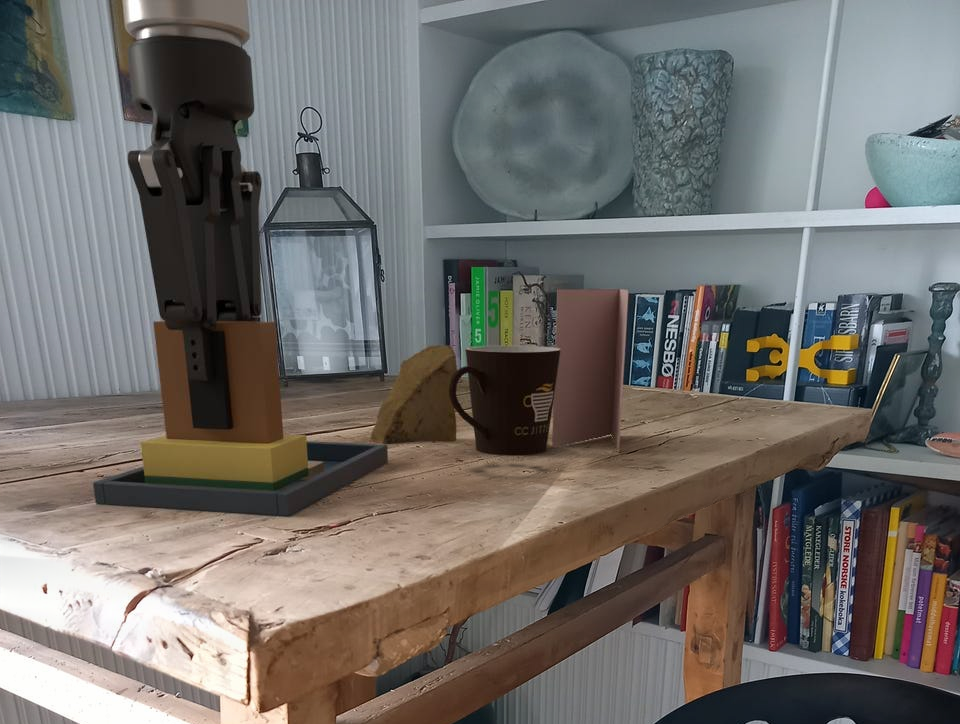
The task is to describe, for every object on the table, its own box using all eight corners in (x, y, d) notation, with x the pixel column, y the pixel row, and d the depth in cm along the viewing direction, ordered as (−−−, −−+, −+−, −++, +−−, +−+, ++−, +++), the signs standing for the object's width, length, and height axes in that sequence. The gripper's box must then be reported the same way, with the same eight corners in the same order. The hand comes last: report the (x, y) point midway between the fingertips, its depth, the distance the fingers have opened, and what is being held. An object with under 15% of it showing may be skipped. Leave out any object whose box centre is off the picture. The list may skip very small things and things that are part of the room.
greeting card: (604, 434, 103) (612, 289, 97) (664, 441, 98) (676, 289, 93) (544, 447, 94) (549, 289, 89) (607, 456, 90) (617, 290, 85)
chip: (274, 479, 74) (273, 466, 73) (290, 471, 76) (289, 459, 76) (310, 480, 73) (309, 468, 73) (324, 473, 76) (324, 461, 75)
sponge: (309, 475, 70) (299, 320, 66) (274, 491, 65) (261, 324, 61) (188, 469, 72) (172, 319, 68) (145, 484, 67) (125, 322, 63)
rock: (375, 433, 87) (476, 415, 89) (352, 354, 89) (452, 337, 91) (369, 484, 97) (460, 466, 99) (348, 411, 99) (438, 396, 101)
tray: (97, 517, 65) (92, 482, 65) (234, 465, 84) (232, 437, 83) (290, 531, 62) (287, 494, 61) (388, 473, 81) (387, 444, 80)
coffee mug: (534, 449, 93) (536, 344, 89) (572, 464, 86) (577, 351, 82) (423, 456, 89) (421, 347, 86) (453, 472, 82) (452, 353, 78)
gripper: (197, 72, 66) (228, 409, 75) (56, 15, 52) (113, 439, 61) (295, 67, 65) (315, 413, 73) (177, 8, 51) (218, 444, 59)
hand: (224, 424), depth 67 cm, fingers closed on sponge, 2 cm apart
